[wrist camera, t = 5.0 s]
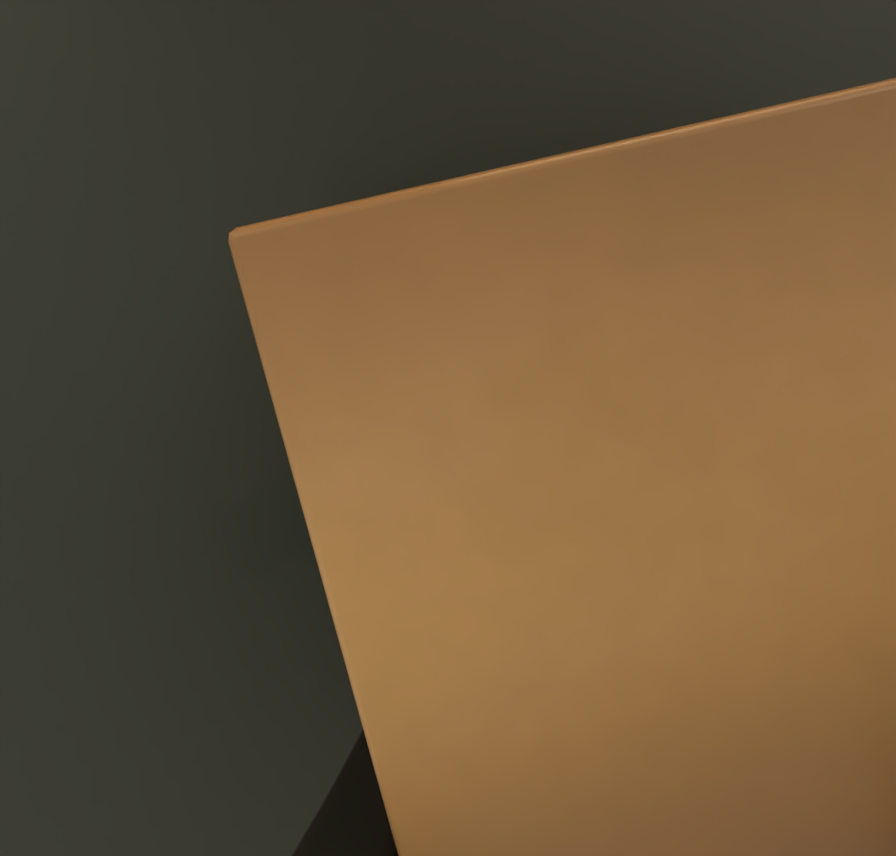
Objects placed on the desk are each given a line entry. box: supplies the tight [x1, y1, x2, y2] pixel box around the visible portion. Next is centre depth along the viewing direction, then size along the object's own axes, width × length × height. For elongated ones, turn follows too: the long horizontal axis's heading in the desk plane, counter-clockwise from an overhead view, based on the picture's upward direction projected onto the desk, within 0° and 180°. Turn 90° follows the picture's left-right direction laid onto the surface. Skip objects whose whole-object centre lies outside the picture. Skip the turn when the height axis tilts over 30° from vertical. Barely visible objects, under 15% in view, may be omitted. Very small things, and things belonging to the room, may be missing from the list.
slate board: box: [0, 0, 896, 856], centre depth 11 cm, size 22×18×1 cm
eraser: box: [228, 78, 896, 856], centre depth 8 cm, size 12×5×4 cm, turn 12°
